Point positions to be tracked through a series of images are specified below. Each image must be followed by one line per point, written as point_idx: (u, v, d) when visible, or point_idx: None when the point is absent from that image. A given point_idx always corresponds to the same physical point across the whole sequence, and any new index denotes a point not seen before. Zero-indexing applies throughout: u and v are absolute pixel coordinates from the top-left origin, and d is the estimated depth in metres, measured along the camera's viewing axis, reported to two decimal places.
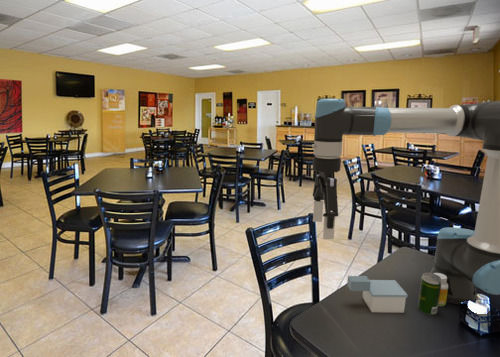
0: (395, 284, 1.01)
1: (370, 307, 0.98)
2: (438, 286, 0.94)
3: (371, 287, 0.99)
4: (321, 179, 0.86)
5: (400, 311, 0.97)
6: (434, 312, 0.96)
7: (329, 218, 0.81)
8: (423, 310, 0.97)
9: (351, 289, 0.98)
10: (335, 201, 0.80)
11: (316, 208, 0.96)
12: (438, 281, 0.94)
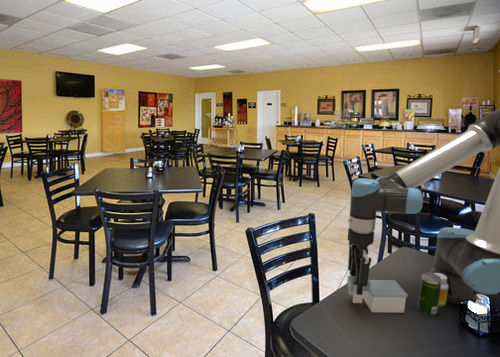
0: (395, 284, 1.01)
1: (370, 307, 0.98)
2: (438, 286, 0.94)
3: (371, 287, 0.99)
4: (356, 251, 0.95)
5: (400, 311, 0.97)
6: (434, 312, 0.96)
7: (359, 286, 0.96)
8: (423, 310, 0.97)
9: (351, 289, 0.98)
10: (366, 276, 0.93)
11: None
12: (438, 281, 0.94)
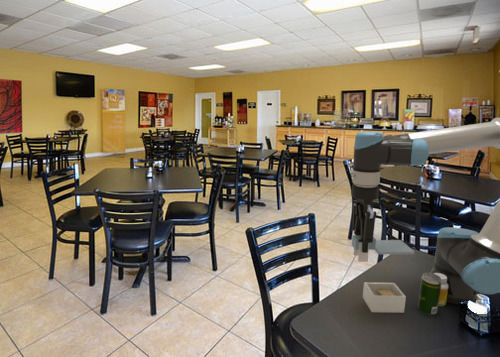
0: (401, 243, 0.98)
1: (370, 307, 0.98)
2: (438, 286, 0.94)
3: (376, 246, 0.96)
4: (360, 207, 0.92)
5: (400, 311, 0.97)
6: (434, 312, 0.96)
7: (364, 244, 0.93)
8: (423, 310, 0.97)
9: (356, 248, 0.95)
10: (372, 231, 0.90)
11: None
12: (438, 281, 0.94)
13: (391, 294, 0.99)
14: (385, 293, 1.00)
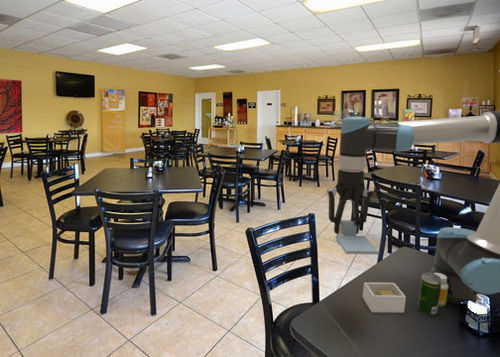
0: (368, 249, 0.84)
1: (370, 307, 0.98)
2: (438, 286, 0.94)
3: (350, 237, 0.92)
4: None
5: (400, 311, 0.97)
6: (434, 312, 0.96)
7: (334, 223, 0.97)
8: (423, 310, 0.97)
9: None
10: (330, 210, 0.95)
11: None
12: (438, 281, 0.94)
13: (391, 294, 0.99)
14: (385, 293, 1.00)
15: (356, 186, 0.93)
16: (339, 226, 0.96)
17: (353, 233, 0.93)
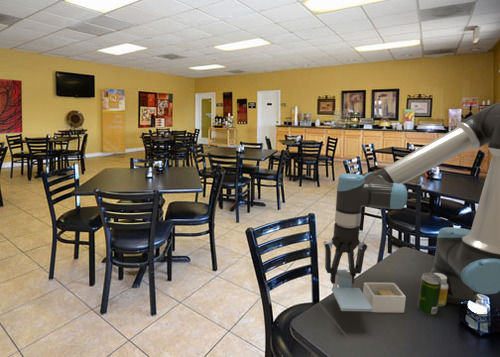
0: (362, 306, 0.88)
1: None
2: (438, 286, 0.94)
3: (345, 289, 0.96)
4: None
5: (400, 311, 0.97)
6: (434, 312, 0.96)
7: None
8: (423, 310, 0.97)
9: None
10: (326, 261, 0.99)
11: None
12: (438, 281, 0.94)
13: (391, 294, 0.99)
14: (385, 293, 1.00)
15: (352, 240, 0.97)
16: (335, 277, 0.99)
17: (348, 285, 0.97)
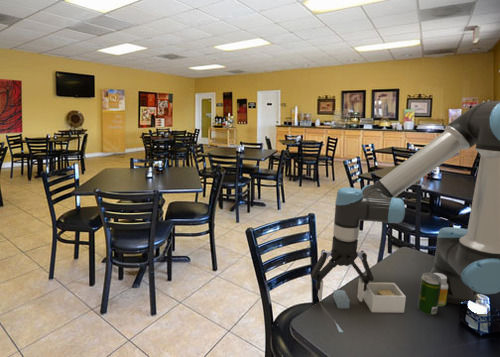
0: None
1: (370, 307, 0.98)
2: (438, 286, 0.94)
3: None
4: None
5: (400, 311, 0.97)
6: (434, 312, 0.96)
7: (316, 280, 1.01)
8: (423, 310, 0.97)
9: (333, 297, 1.04)
10: (316, 268, 0.99)
11: (359, 286, 1.02)
12: (438, 281, 0.94)
13: (391, 294, 0.99)
14: (385, 293, 1.00)
15: (349, 255, 0.98)
16: (320, 283, 1.00)
17: (346, 306, 0.99)
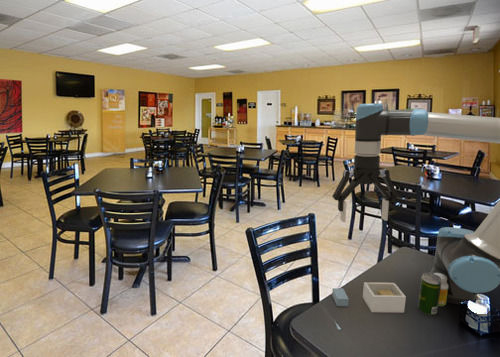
0: None
1: (370, 307, 0.98)
2: (438, 286, 0.94)
3: None
4: None
5: (400, 311, 0.97)
6: (434, 312, 0.96)
7: (338, 201, 1.00)
8: (423, 310, 0.97)
9: None
10: (339, 188, 0.98)
11: (383, 205, 1.01)
12: (438, 281, 0.94)
13: (391, 294, 0.99)
14: (385, 293, 1.00)
15: (371, 173, 0.97)
16: (343, 204, 0.99)
17: (345, 304, 1.00)
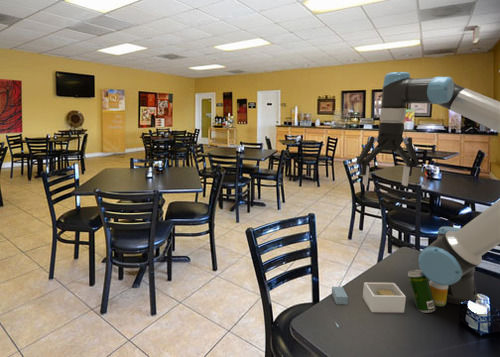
0: None
1: (370, 307, 0.98)
2: (423, 278, 0.97)
3: None
4: None
5: (400, 311, 0.97)
6: (431, 307, 0.96)
7: (361, 166, 1.06)
8: (420, 307, 0.97)
9: (332, 294, 1.06)
10: (363, 153, 1.04)
11: (404, 172, 1.07)
12: (421, 273, 0.98)
13: (391, 294, 0.99)
14: (385, 293, 1.00)
15: (395, 139, 1.03)
16: (366, 168, 1.05)
17: (344, 302, 1.01)
